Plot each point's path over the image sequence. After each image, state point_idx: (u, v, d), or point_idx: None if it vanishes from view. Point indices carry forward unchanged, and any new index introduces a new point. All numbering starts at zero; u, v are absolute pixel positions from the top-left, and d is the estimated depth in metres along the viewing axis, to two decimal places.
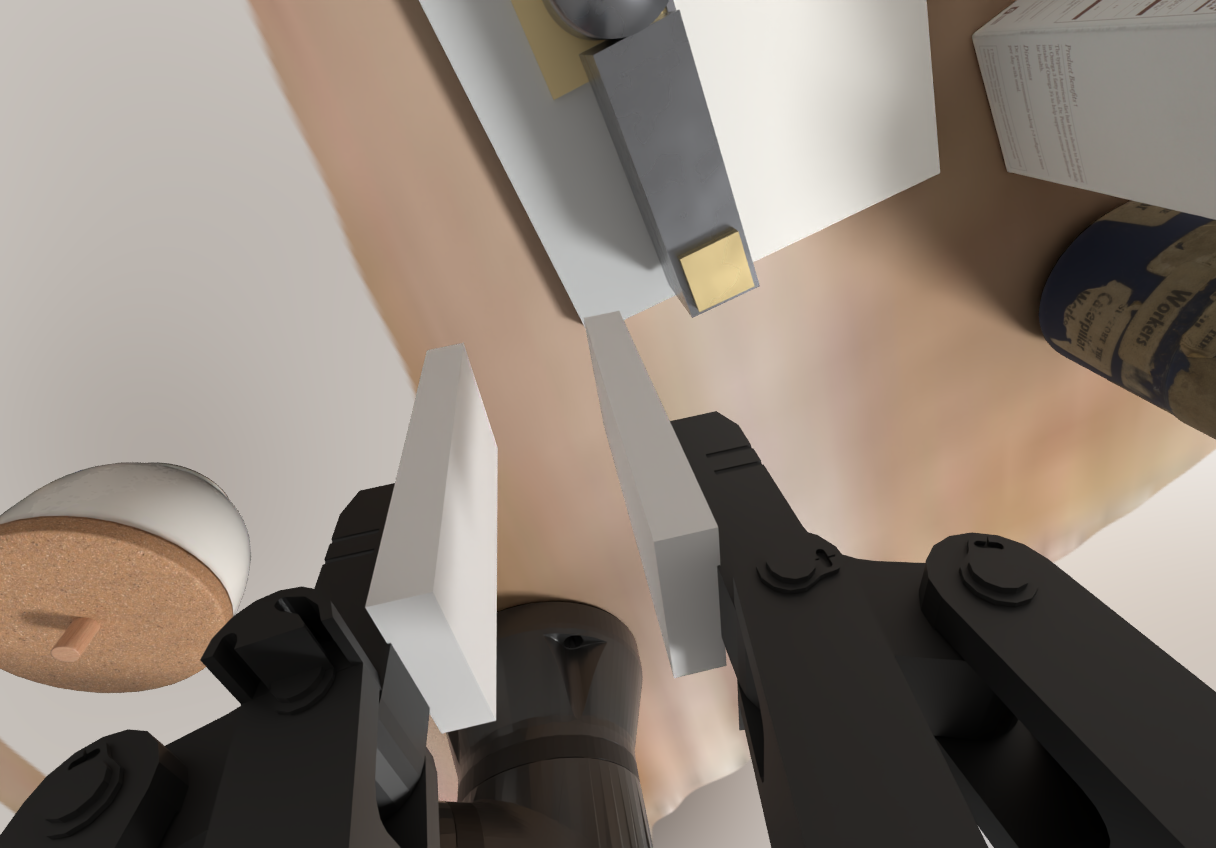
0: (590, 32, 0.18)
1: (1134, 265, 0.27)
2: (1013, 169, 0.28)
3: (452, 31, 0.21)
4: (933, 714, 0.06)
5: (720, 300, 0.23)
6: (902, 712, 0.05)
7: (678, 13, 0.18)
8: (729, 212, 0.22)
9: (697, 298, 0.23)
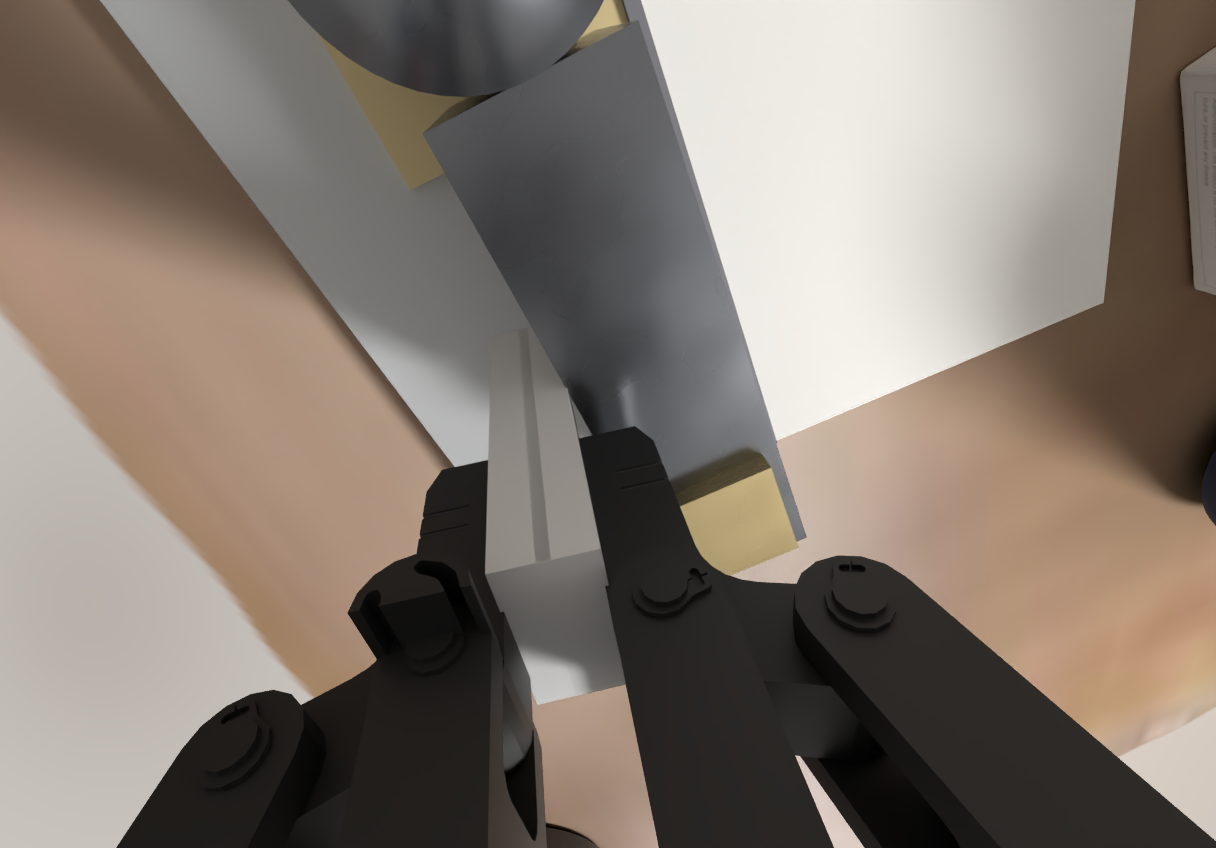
0: (395, 81, 0.07)
1: None
2: (1210, 287, 0.17)
3: (181, 56, 0.10)
4: (806, 736, 0.06)
5: (732, 572, 0.12)
6: (765, 729, 0.05)
7: (635, 30, 0.07)
8: (753, 430, 0.11)
9: None
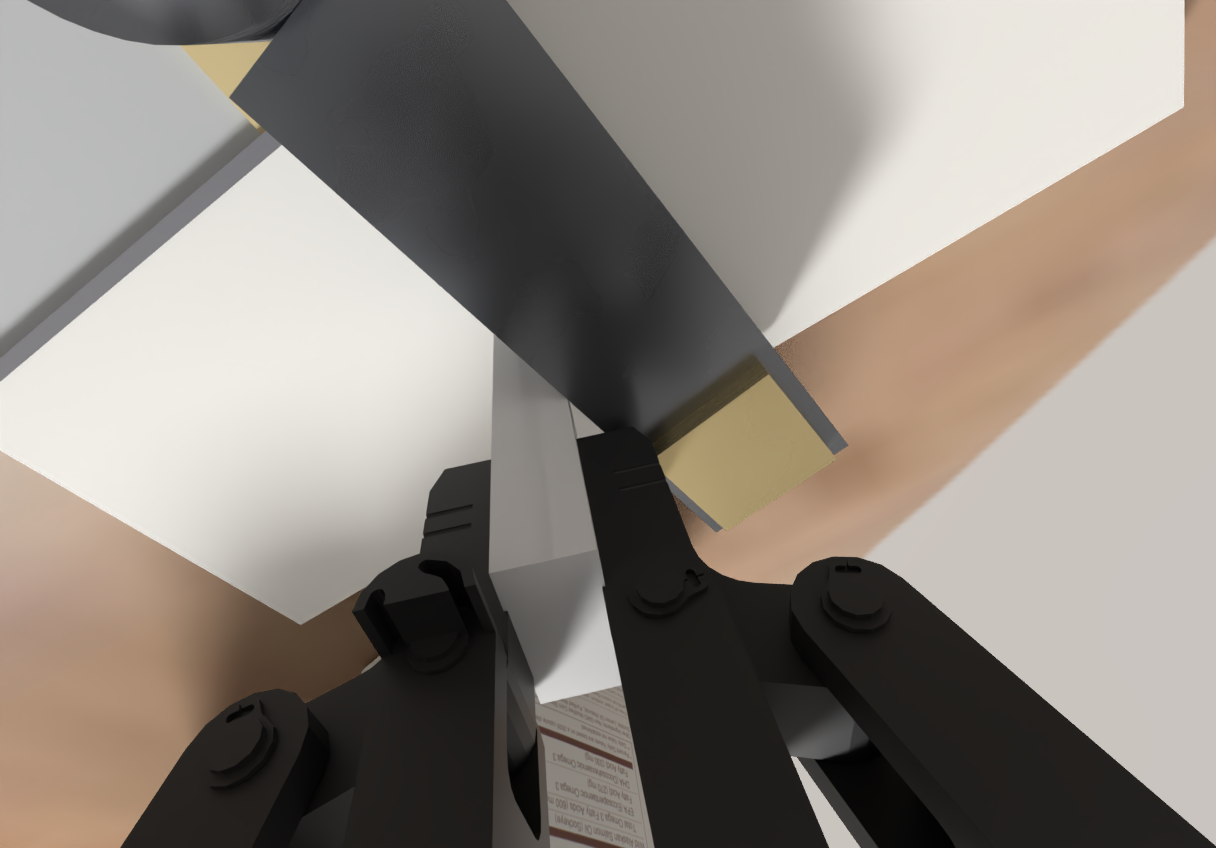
0: (156, 42, 0.06)
1: None
2: None
3: None
4: (803, 737, 0.06)
5: (765, 502, 0.11)
6: (760, 729, 0.05)
7: None
8: (737, 335, 0.09)
9: (713, 512, 0.11)
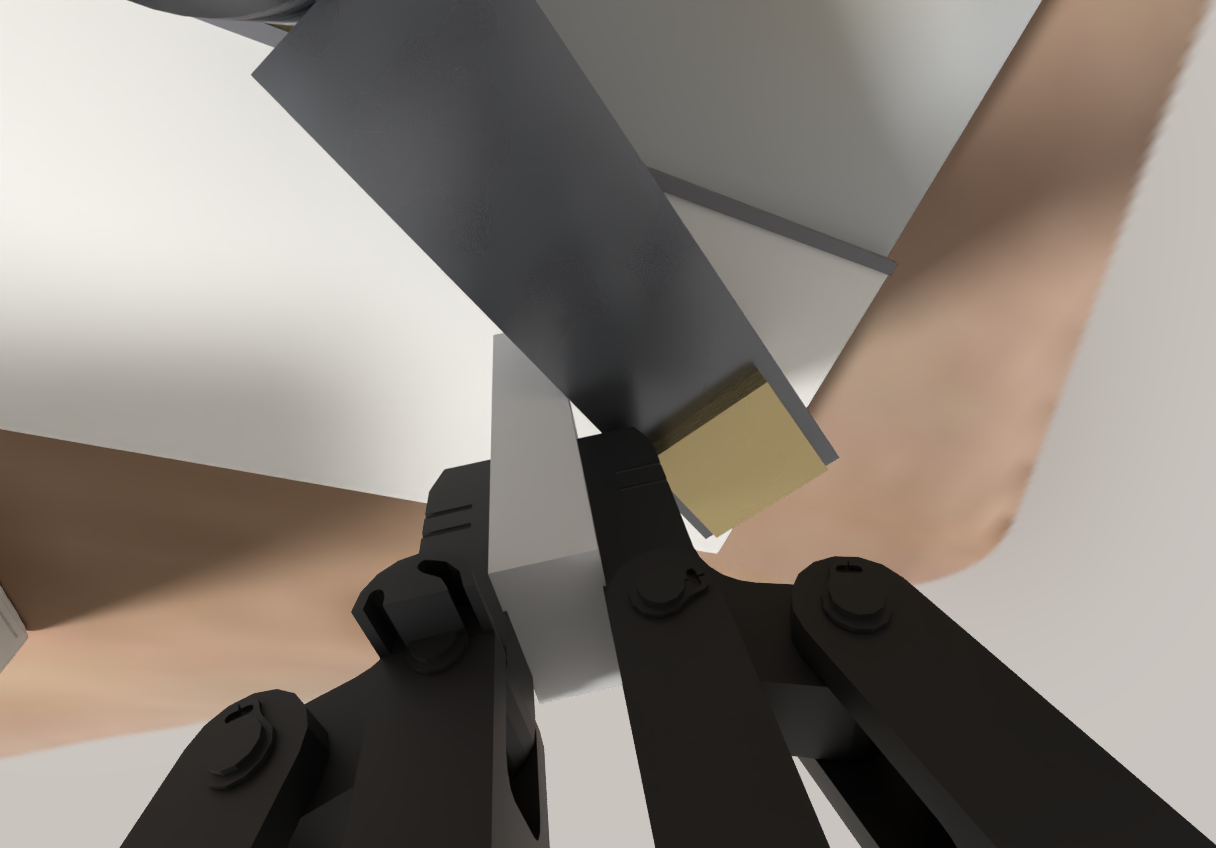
0: (183, 13, 0.06)
1: None
2: None
3: None
4: (804, 737, 0.06)
5: (757, 510, 0.11)
6: (761, 729, 0.05)
7: None
8: (738, 342, 0.09)
9: (705, 518, 0.11)
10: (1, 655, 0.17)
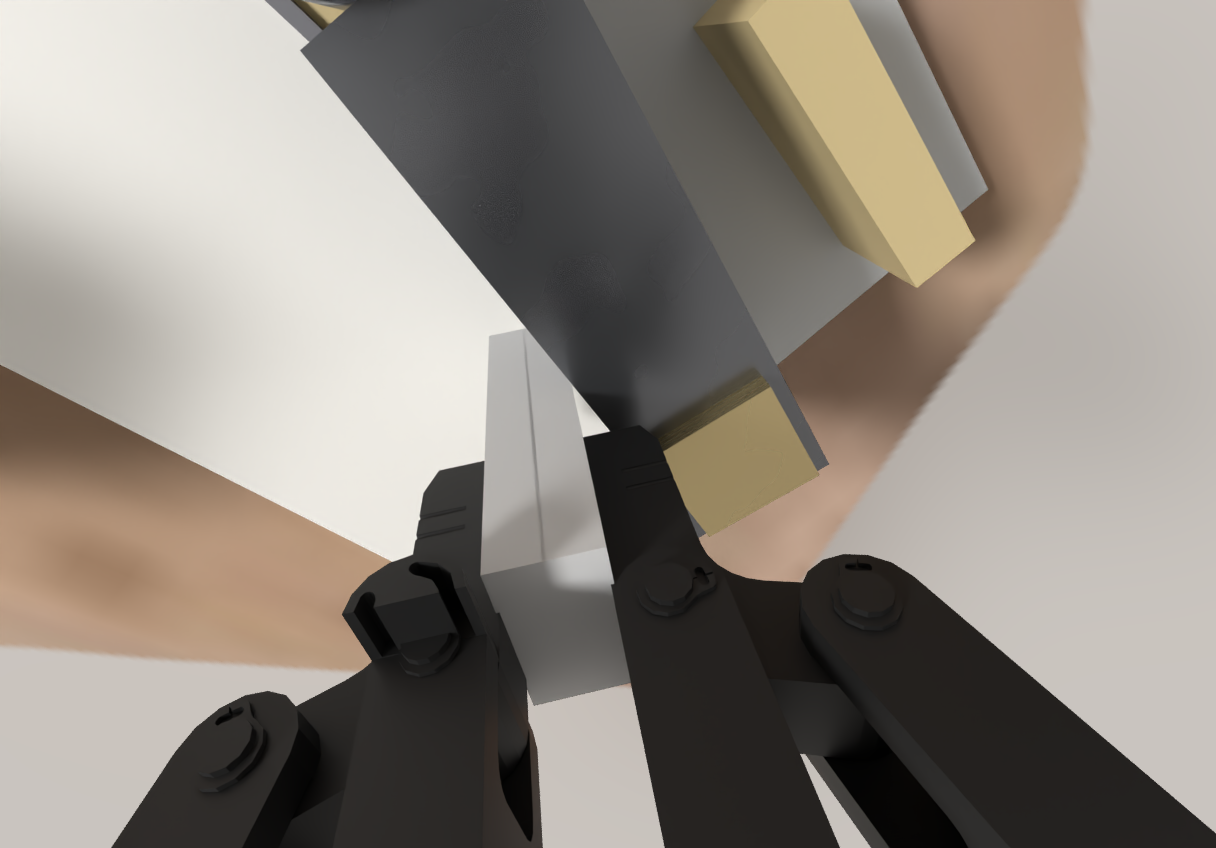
0: None
1: None
2: None
3: None
4: (812, 735, 0.06)
5: (749, 511, 0.11)
6: (770, 728, 0.05)
7: None
8: (745, 347, 0.10)
9: (700, 517, 0.11)
10: None
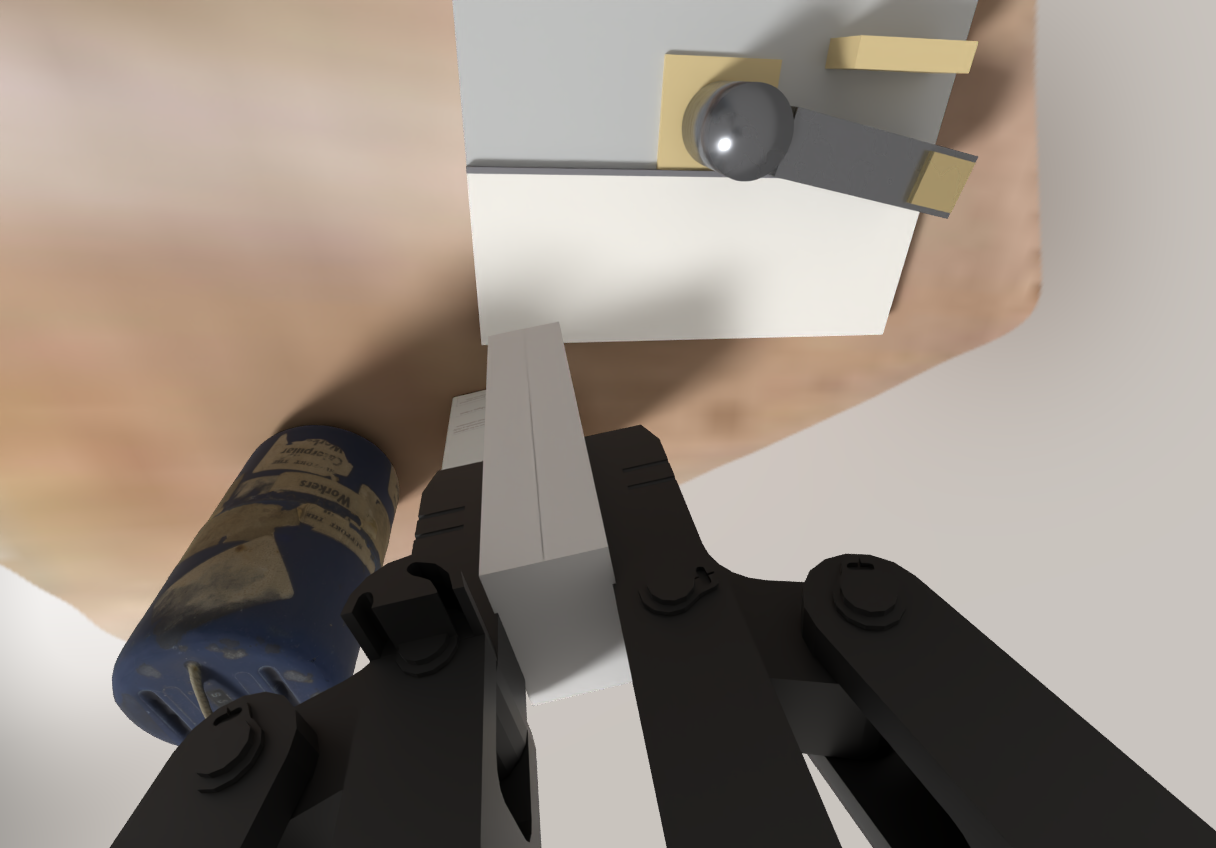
0: (768, 173, 0.27)
1: (364, 478, 0.34)
2: (456, 400, 0.37)
3: None
4: (814, 735, 0.06)
5: (959, 193, 0.29)
6: (771, 727, 0.05)
7: (799, 109, 0.26)
8: (917, 147, 0.28)
9: (942, 208, 0.29)
10: None
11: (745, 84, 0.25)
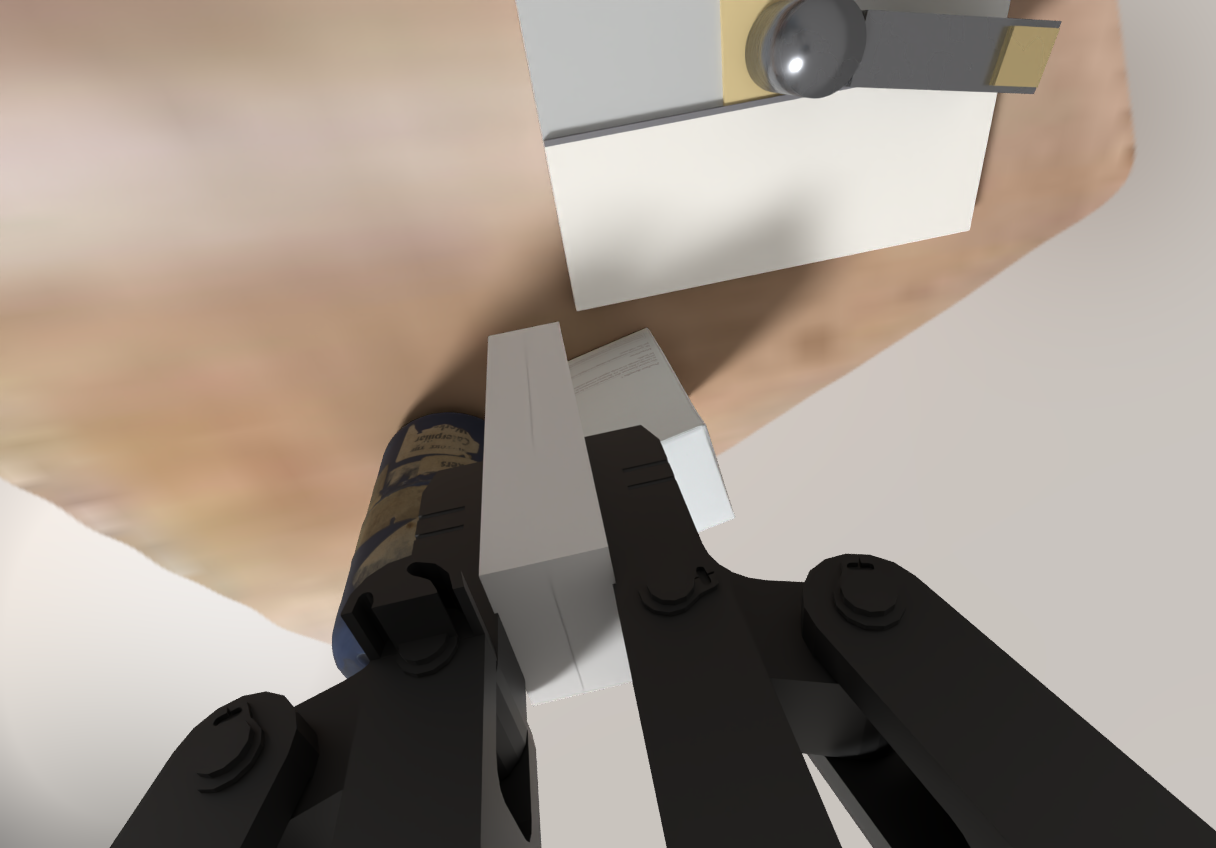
0: (844, 84, 0.27)
1: None
2: None
3: None
4: (814, 734, 0.06)
5: (1044, 64, 0.28)
6: (771, 727, 0.05)
7: (869, 11, 0.26)
8: (996, 25, 0.27)
9: (1027, 84, 0.28)
10: None
11: None
